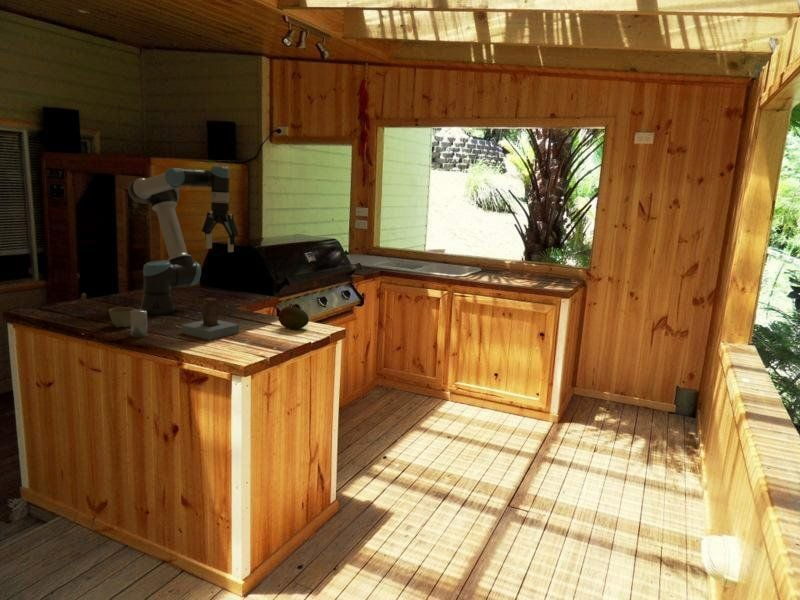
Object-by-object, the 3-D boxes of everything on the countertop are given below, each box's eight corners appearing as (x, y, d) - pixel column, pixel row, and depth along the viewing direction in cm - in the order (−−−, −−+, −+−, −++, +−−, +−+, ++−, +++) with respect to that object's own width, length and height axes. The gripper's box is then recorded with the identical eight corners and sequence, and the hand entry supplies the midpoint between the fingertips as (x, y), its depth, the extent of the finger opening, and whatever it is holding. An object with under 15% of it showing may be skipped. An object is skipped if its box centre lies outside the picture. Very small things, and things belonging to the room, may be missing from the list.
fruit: (274, 327, 265) (275, 304, 263) (300, 324, 273) (300, 302, 271) (286, 333, 256) (287, 310, 254) (312, 330, 264) (313, 307, 262)
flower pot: (141, 325, 255) (140, 308, 253) (123, 330, 245) (122, 313, 244) (122, 322, 258) (121, 306, 256) (103, 327, 248) (103, 310, 247)
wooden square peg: (203, 332, 248) (203, 298, 246) (210, 330, 252) (210, 297, 249) (210, 333, 246) (210, 300, 244) (217, 332, 250) (217, 299, 247)
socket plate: (181, 333, 246) (181, 324, 245) (211, 326, 260) (211, 318, 259) (209, 340, 238) (209, 331, 238) (238, 332, 252) (238, 324, 252)
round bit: (127, 335, 238) (127, 310, 236) (140, 332, 243) (140, 308, 241) (137, 338, 235) (137, 313, 233) (150, 335, 240) (150, 310, 238)
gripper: (193, 199, 268) (193, 247, 272) (234, 204, 256) (233, 253, 260) (206, 200, 274) (206, 246, 278) (247, 204, 262) (246, 252, 266)
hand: (219, 250), depth 269 cm, fingers open, 13 cm apart
